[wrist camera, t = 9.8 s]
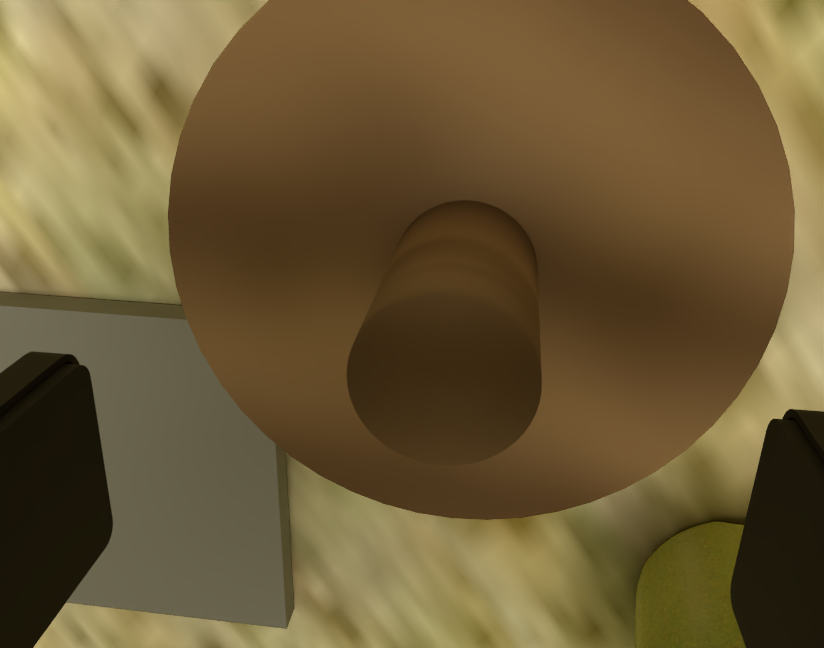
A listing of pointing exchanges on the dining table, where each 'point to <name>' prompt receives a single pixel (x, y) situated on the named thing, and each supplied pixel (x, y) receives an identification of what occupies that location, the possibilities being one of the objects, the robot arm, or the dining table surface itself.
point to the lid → (481, 241)
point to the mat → (169, 464)
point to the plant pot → (690, 591)
